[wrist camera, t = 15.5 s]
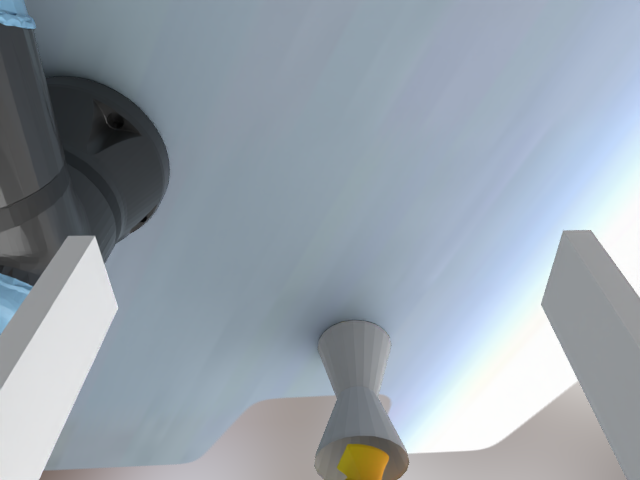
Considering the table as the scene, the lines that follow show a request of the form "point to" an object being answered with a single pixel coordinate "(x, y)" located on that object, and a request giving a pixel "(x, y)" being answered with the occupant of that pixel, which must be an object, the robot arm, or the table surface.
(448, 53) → the table surface
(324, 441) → the lava lamp
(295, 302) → the table surface
